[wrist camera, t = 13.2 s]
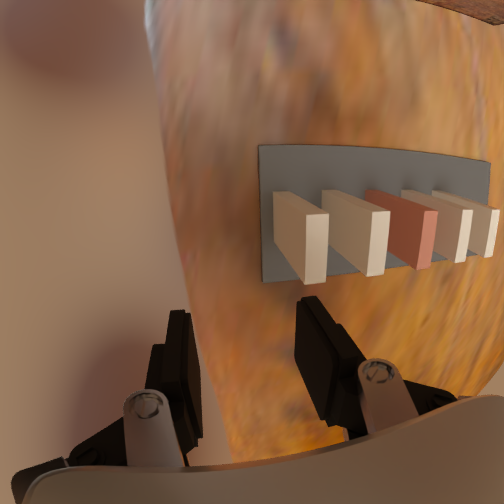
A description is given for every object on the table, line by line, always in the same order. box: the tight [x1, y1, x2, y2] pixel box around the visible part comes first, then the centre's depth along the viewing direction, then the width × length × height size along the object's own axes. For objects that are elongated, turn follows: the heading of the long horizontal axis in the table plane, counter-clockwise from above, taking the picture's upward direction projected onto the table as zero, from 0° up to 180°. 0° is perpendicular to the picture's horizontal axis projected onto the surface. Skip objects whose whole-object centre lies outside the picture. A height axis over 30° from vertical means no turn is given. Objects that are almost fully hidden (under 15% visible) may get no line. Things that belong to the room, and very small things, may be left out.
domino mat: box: [258, 145, 491, 283], centre depth 32 cm, size 14×34×1 cm, turn 92°
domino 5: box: [432, 190, 500, 258], centre depth 28 cm, size 5×2×10 cm, turn 2°
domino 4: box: [401, 190, 473, 263], centre depth 27 cm, size 5×2×10 cm, turn 2°
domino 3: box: [365, 190, 438, 270], centre depth 26 cm, size 5×2×10 cm, turn 1°
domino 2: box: [321, 190, 390, 277], centre depth 26 cm, size 5×2×10 cm, turn 2°
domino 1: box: [273, 191, 329, 285], centre depth 25 cm, size 5×2×10 cm, turn 2°
